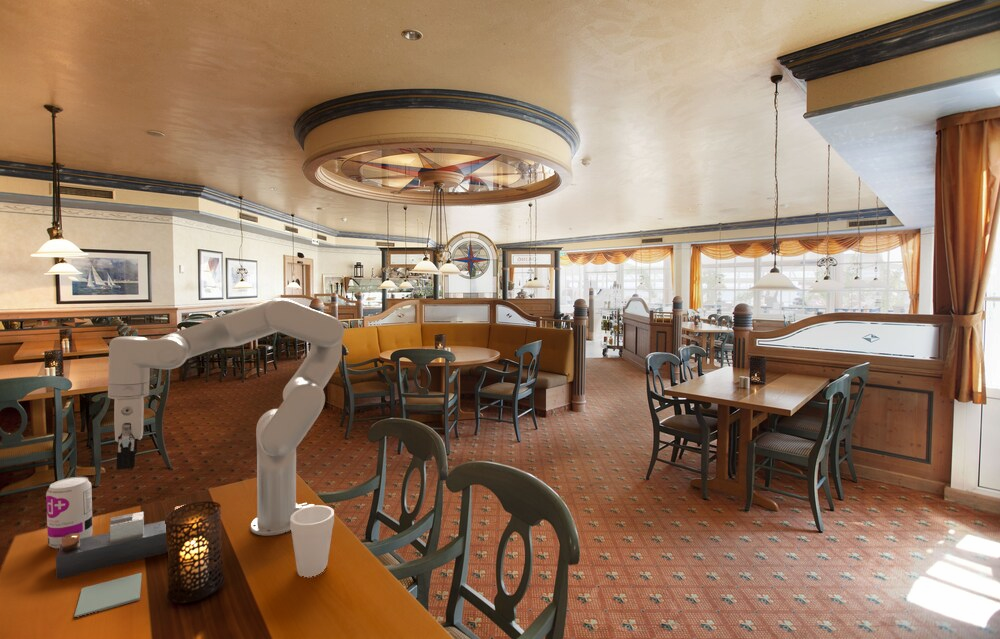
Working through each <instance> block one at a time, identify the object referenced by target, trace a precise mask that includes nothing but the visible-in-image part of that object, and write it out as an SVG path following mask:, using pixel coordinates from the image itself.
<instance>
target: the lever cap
mask: <svg viewBox="0 0 1000 639" xmlns="http://www.w3.org/2000/svg"><path fill="white" fill-rule="evenodd" d="M144 514H145V512H144V511H140V512H134V513H128V514H122V515H117V516H111V518H110V521H109V522H110V525H109V533H110V543H112V542H116V541H121V540H125V539H130V538H134V537H139V536H143V532H144V525H145V516H144Z"/></svg>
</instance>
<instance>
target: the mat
mask: <svg viewBox="0 0 1000 639" xmlns="http://www.w3.org/2000/svg"><path fill="white" fill-rule="evenodd" d="M142 576H143V572H139V573H135V574H131V575H127V576H123V577H120V578H115V579H112V580H109V581H105V582H99V583H97V584H93V585H90V586H89V585H88V586H85V587H82V588H81V592H80V593H79V594H80V595H79V598H78V602H77V606H76V608H75V612H74V615H73V616H74V617H77V616H82V615H85V616H87V615H86V614H89V615H91V614H90V613H92V614H94V613H93V612H95V613H98V612H97V611H99V612H101V611H105V610H109V609H114V608H115V607H120V606H122V605H123V606H124V605H126V604H129V603H133V602H137V601H140V600H141V591H142V590H141V589H142ZM82 617H83V616H82Z"/></svg>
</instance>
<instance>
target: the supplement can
mask: <svg viewBox="0 0 1000 639" xmlns="http://www.w3.org/2000/svg"><path fill="white" fill-rule="evenodd" d="M92 493H93V492H92V483H91V482H90V480H89V477H86V476H75V477H67V478H63V479H60V480H57V481H55V482H52V483H50V485H49V487H48V488H47V491H46V493H45V497H46V524H47V525H46V528H47V529H46V530H47V532H46V533H47V545H48V546H49V547H51V548H53V549H58V548H59V549H60V546H61V544H62V537H64V536H66V535H68V534H72V533H79V534H80V539H82V538H86V537H91V536H93V534H94V533H93V529H94V528H93V501H92V497H93V496H92V495H93V494H92ZM59 549H58V550H59Z"/></svg>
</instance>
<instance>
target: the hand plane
mask: <svg viewBox="0 0 1000 639" xmlns="http://www.w3.org/2000/svg"><path fill="white" fill-rule="evenodd" d="M184 505H185V504H181V505H178V506H175V507H174V511H175V510H176V509H178V508H180V507H182V506H184ZM166 552H167V543H166V524H165V520H161V521H157V522H153V523H152V522H151V523H147V524H144V532H143V536H139V537H134V538H130V539H125V540H121V541H116V542H112V543H110V532H105V533H101V534H100V533H99V534H96V535H91V536H90V537H86V538H82V539H80V534H79V533H72V534H68V535H66V536H64V537H62V544H61V546H60V548H59V549H58V551H57V554H56V557H55V570H56V572H55V574H56V580H62V579H65V578H68V577H73V576H78V575H81V573H82V574H86V573H90V572H94V571H97V570H100V569H102V570H103V569H105V568H110V567H114V566H117V565H122V564H125V563H126V564H127V563H130V562H133V561H139V560H142V559H146V558H150V557H154V556H158V555H162V554H165V553H166ZM167 553H168V552H167ZM93 570H94V571H93ZM89 571H90V572H89ZM85 572H86V573H85Z"/></svg>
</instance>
